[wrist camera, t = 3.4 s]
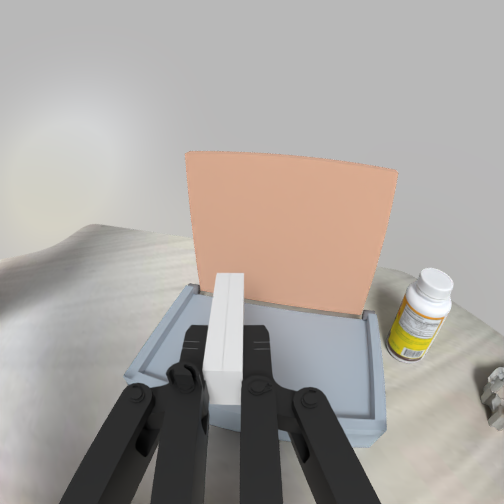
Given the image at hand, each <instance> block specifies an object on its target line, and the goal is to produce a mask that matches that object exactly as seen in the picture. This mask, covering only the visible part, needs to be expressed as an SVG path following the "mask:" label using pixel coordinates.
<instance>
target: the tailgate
mask: <svg viewBox="0 0 504 504" xmlns="http://www.w3.org/2000/svg"><path fill="white" fill-rule="evenodd" d="M185 160H186V172H187V183H188V194H189V204H190V213H191V222H192V230H193V239H194V246H195V254H196V262H197V269H198V276H199V283H200V289H201V291H206V292H212V293H214V287H215V281H216V275H217V273H244V298H245V299H251V300H257V301H264V302H270V303H276V304H283V305H290V306H296V307H303V308H310V309H318V310H325V311H333V312H341V313H349V314H358V315H361V313H362V310H363V307H364V304H365V301H366V299H367V296H368V292H369V289H370V286H371V283H372V280H373V277H374V273H375V270H376V267H377V263H378V259H379V256H380V252H381V249H382V245H383V241H384V238H385V234H386V230H387V225H388V221H389V217H390V212H391V208H392V203H393V198H394V193H395V188H396V183H397V178H398V172H397V171H396V170H394V169H389V168H383V167H377V166H371V165H366V164H359V163H353V162H346V161H339V160H331V159H323V158H313V157H304V156H293V155H281V154H268V153H251V152H224V151H222V152H221V151H189V152H187V153H185Z"/></svg>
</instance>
